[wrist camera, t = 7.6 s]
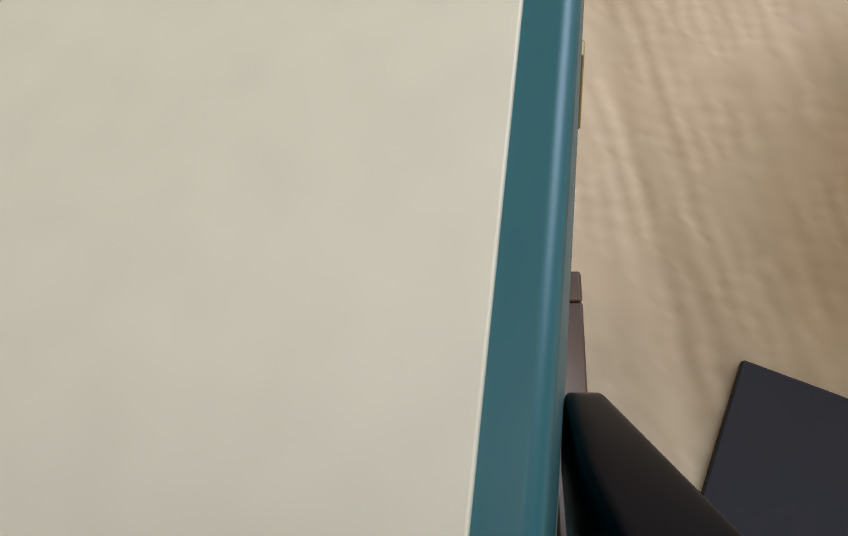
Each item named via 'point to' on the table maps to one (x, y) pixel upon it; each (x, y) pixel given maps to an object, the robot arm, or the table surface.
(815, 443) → the felt pad
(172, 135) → the book
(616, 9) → the table surface
